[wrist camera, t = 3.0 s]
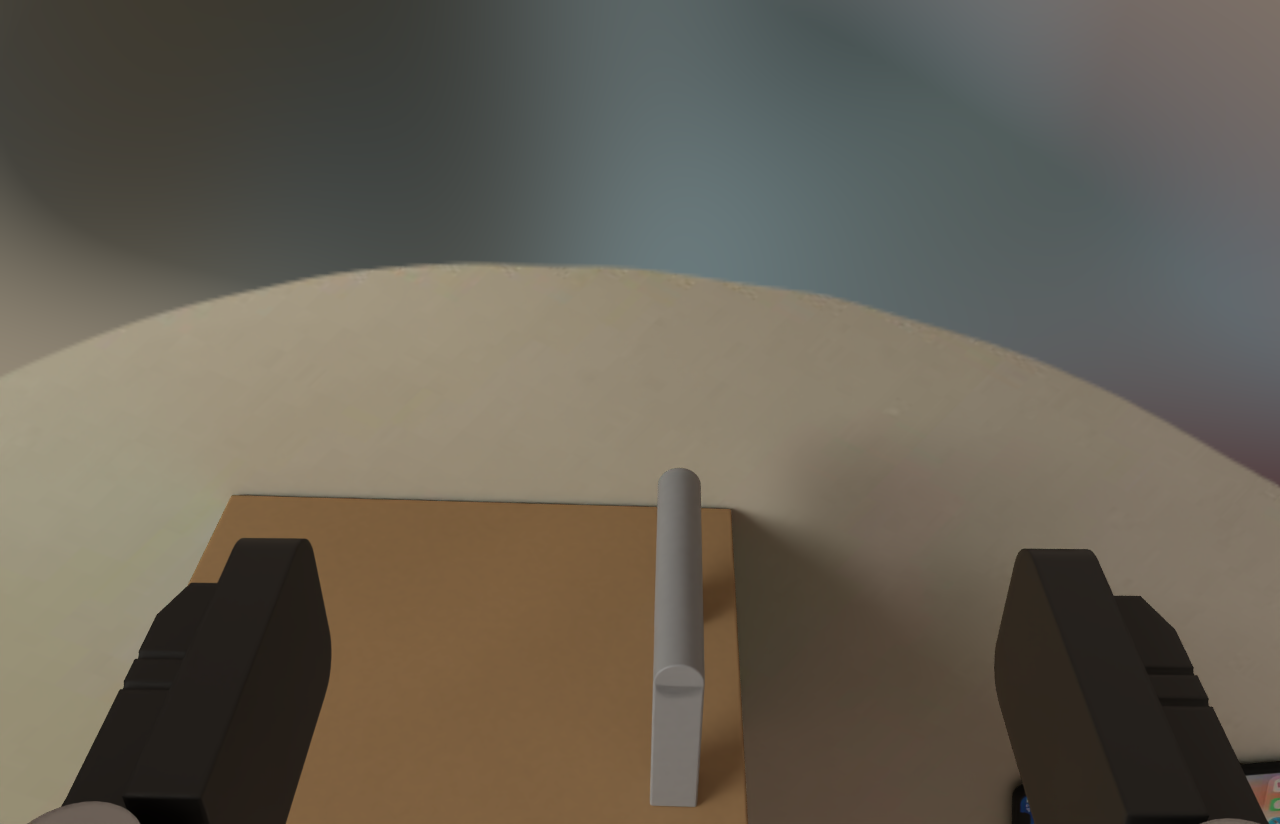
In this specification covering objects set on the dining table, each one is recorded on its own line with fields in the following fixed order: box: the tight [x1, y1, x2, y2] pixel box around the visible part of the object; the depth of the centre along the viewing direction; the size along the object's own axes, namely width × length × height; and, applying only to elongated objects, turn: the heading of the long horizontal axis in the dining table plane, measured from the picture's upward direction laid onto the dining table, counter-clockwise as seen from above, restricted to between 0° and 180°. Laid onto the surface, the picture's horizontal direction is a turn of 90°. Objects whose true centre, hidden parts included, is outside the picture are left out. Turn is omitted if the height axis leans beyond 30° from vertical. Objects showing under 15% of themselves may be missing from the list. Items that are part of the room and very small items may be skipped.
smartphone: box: [1012, 761, 1280, 824], centre depth 65 cm, size 8×1×15 cm
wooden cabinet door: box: [188, 468, 748, 824], centre depth 44 cm, size 8×22×22 cm, turn 89°
